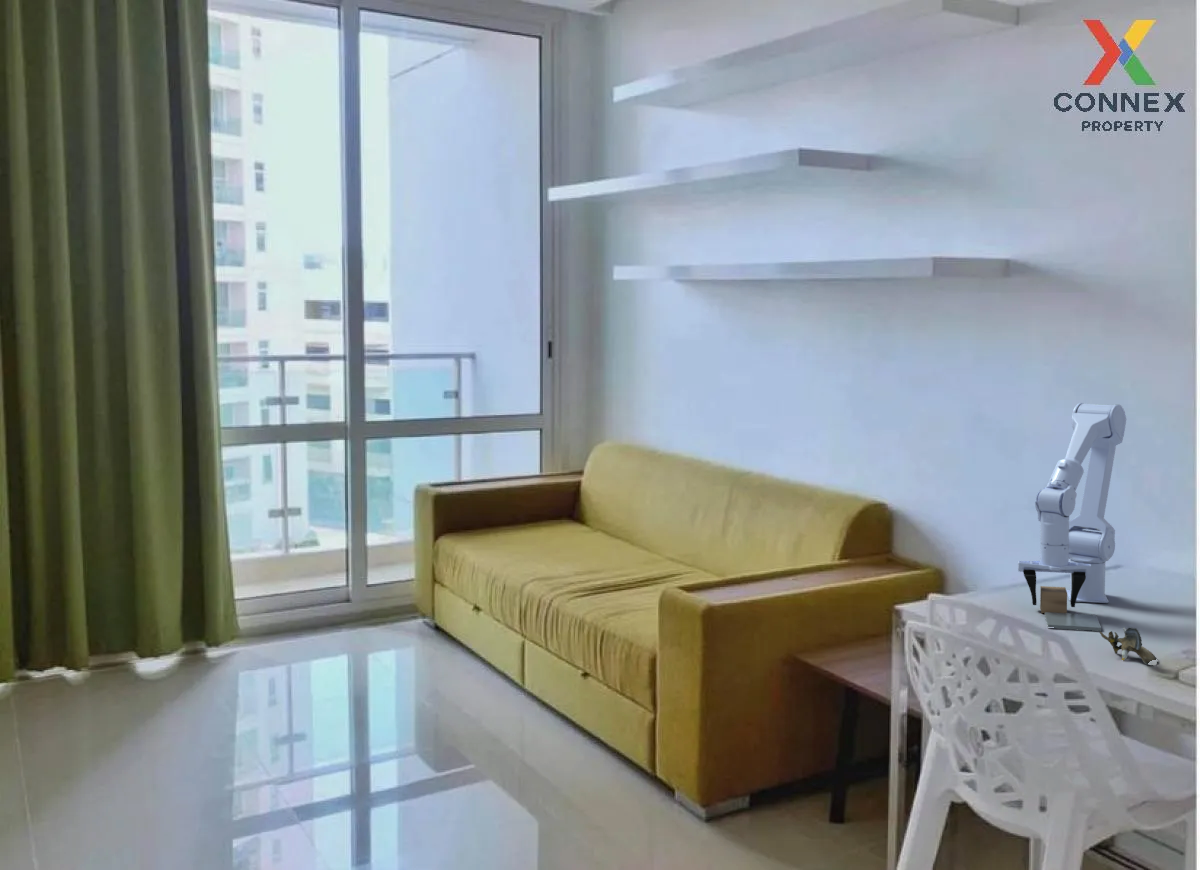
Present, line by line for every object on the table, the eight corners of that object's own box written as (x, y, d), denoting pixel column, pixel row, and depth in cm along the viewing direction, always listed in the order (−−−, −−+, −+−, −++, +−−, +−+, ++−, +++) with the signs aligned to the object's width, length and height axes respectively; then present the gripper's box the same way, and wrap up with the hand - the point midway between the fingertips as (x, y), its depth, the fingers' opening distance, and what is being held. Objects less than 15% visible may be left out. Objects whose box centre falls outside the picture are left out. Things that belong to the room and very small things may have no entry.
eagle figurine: (1094, 652, 205) (1137, 655, 197) (1103, 617, 208) (1146, 618, 200) (1119, 668, 208) (1162, 672, 200) (1128, 633, 210) (1171, 636, 202)
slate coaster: (1044, 615, 235) (1044, 612, 234) (1095, 618, 231) (1095, 614, 231) (1048, 628, 225) (1048, 624, 225) (1101, 631, 222) (1101, 627, 222)
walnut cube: (1040, 608, 241) (1040, 586, 240) (1064, 609, 239) (1065, 587, 239) (1041, 614, 236) (1042, 591, 236) (1066, 615, 235) (1067, 592, 234)
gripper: (1019, 545, 235) (1018, 607, 236) (1093, 548, 230) (1091, 611, 231) (1017, 539, 241) (1017, 599, 243) (1089, 541, 237) (1088, 603, 238)
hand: (1053, 605), depth 238 cm, fingers open, 7 cm apart
